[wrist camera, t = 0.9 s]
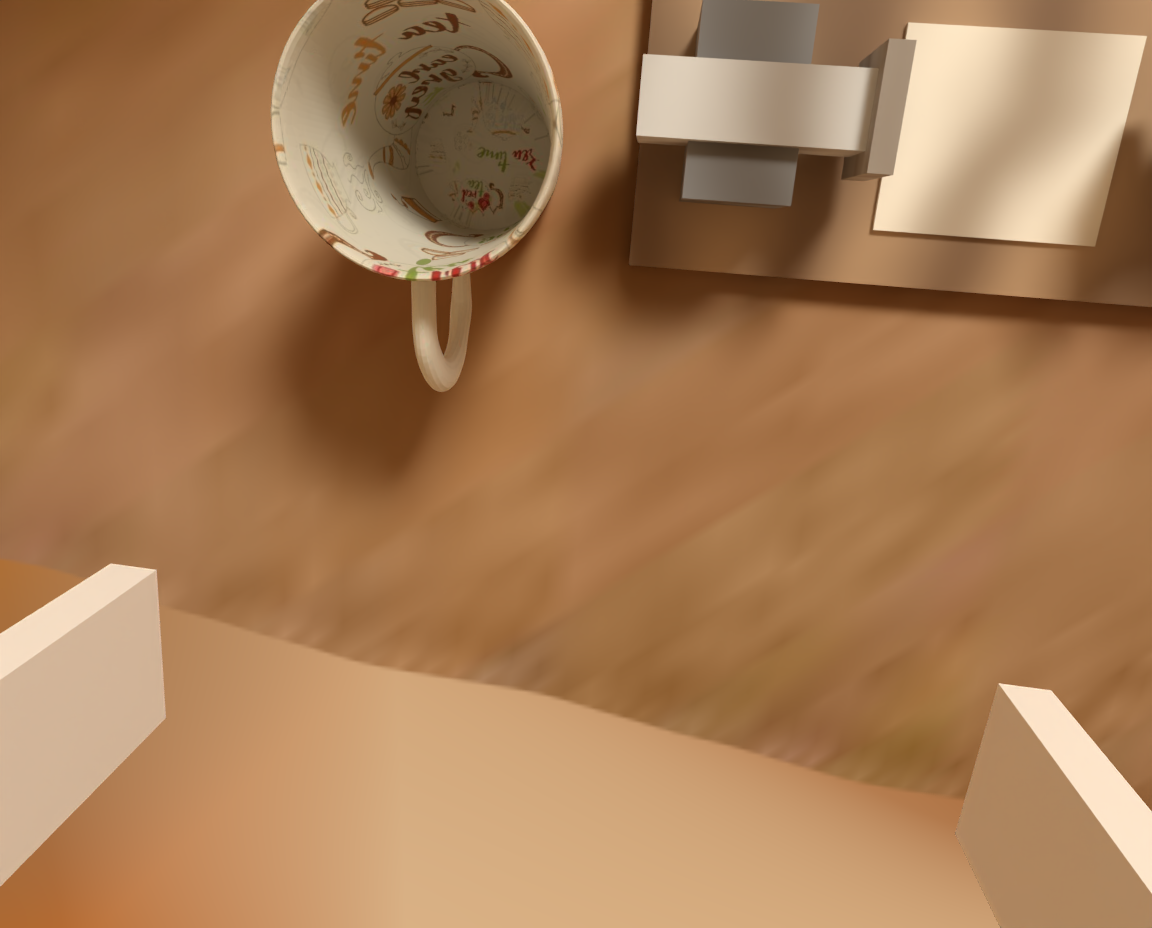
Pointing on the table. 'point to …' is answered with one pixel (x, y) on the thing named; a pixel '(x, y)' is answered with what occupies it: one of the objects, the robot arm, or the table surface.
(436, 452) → the table surface
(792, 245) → the shaft bed
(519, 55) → the mug
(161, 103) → the table surface
